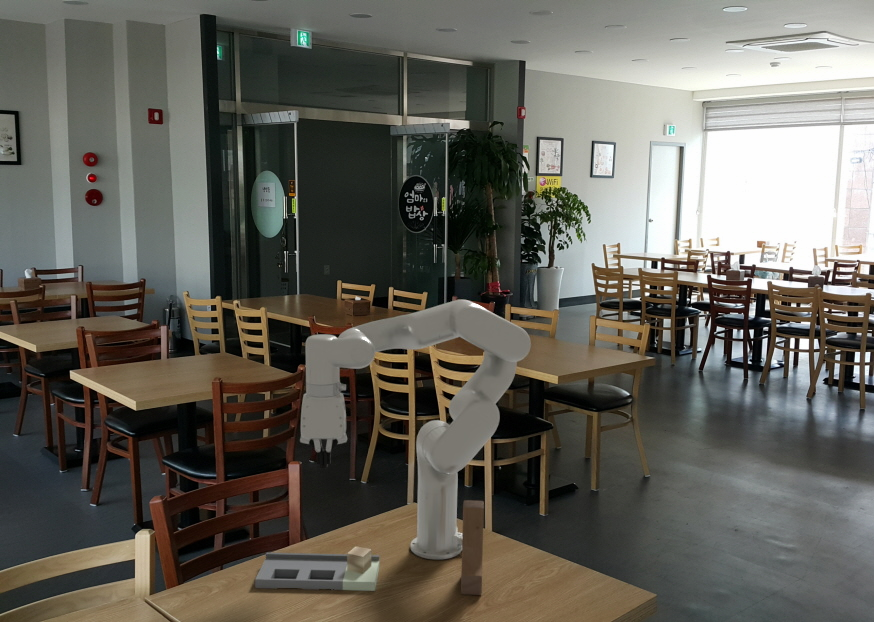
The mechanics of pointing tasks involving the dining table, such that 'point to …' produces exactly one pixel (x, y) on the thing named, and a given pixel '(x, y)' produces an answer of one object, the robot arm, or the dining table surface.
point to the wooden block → (472, 547)
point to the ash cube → (359, 559)
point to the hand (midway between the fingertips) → (324, 466)
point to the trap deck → (314, 572)
